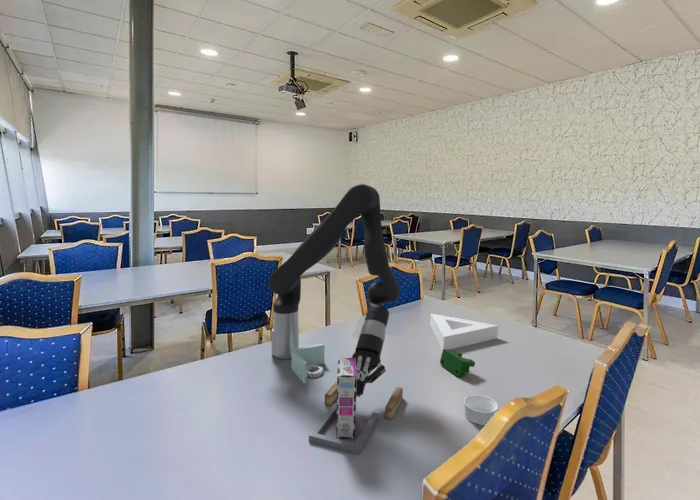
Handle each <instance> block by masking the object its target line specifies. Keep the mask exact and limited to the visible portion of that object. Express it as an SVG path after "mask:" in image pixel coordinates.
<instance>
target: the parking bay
mask: <svg viewBox="0 0 700 500" xmlns="http://www.w3.org/2000/svg"><path fill="white" fill-rule="evenodd" d="M336 415H337V403H333V404H332V405H331V407H330V408H329V409H328V411H327V412H326V413H325V414H324V416H323V417H322V418H321V420H320V421H319V422H318V423H317V424H316V426H314V428H313V429H312V431H311V432H310V433H309V434H308V442H312V443H316V444H319V445H323V446H325V447H331V448H334V449H337V450H342V451H345V452H349V453H353V454H356V455H360V453H361V452H362V449H364V446H365V444H366V442H367V440H368V438H369V437H370V435H371V433H372V432H373V429H374V428H375V426H376V424H377V422H378V420H379V417H380V416H379V415H380V414H379V412H375V411H373V412H372V414H371V415H370V418H369V419H368V421H367V423H366V424H365V426H364V428H363V429H362V430H361V432H360V434H359V436H358V438H357V439H356V441H355V442H353V441H349V440H348V441H347V440H345V439H342V438H336V437H332V436H329V435H325V434H322V433H323V432H324V430H325V429H326V428H327V427H328V425H329V424H330V423H331V421H332V420H333V418H334V417H335V416H336Z"/></svg>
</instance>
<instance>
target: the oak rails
mask: <svg viewBox="0 0 700 500" xmlns="http://www.w3.org/2000/svg"><path fill="white" fill-rule="evenodd" d="M403 392H404V390H403V387H398V386H396V387H395V388H394V391H392V394H391V396H390V397H389V400H388V401H387V403H386V405H385V407H384V418H385V419H389V420H393V418H394V416H395V414H396V412H397V410H398V408H399V406H400V403H402V399H403V396H404V395H403V394H404V393H403ZM335 401H337V380H335V382H334V383H333V384H332V386H330V387H329V389H328V390H327V391H326V392H325V393H324V405H328V406H333V405H334V403H335Z"/></svg>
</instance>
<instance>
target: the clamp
mask: <svg viewBox="0 0 700 500" xmlns="http://www.w3.org/2000/svg"><path fill="white" fill-rule="evenodd" d="M462 356H463V353H461V352H459V351H458V350H454V349H450V350H447V349H442V353H441V355H440V360H439V363H440V366H441V367H443V369H446V370H447V371H449V372H450V373H451V374H453V375H454V376H455V377H461V378H462V377H464V376H465V374H466V373H469V371H470V367H471V368H475V365H476V361H474V360H473V359H471V358H465V357H462Z"/></svg>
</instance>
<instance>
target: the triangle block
mask: <svg viewBox="0 0 700 500" xmlns="http://www.w3.org/2000/svg"><path fill="white" fill-rule="evenodd" d="M430 325H431V326H430ZM429 326H430V327H432V328H431V330H432V329H433V330H432V332H433V331H434V332H433V333H435V334H434V335H436V336H435V337H437V338H436V340H437V341H438V343H439V345H440V348H441V350H443V349H447V350H454V349H457V348H462V347H467V346H470V345H471V346H472V345H475V344H479V343H483V342H488V341H491V340H492V339H493V340H496V338H497V339H498V338H499V337H498V333H499V325H498V324H493V323H487V322H486V323H485V322H481V321H480V322H479V321H476V320H470V319H463V318H458V317H453V316H448V315H441V314H436V313H435V314H434V313H430V323H429Z"/></svg>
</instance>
